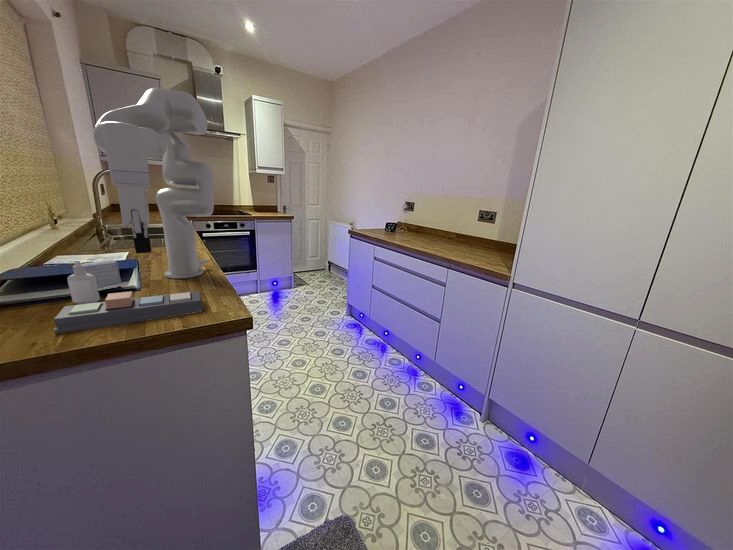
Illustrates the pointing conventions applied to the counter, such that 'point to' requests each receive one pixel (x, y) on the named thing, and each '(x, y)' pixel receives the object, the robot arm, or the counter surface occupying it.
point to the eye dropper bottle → (82, 285)
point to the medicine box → (104, 272)
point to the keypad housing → (124, 314)
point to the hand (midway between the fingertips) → (143, 252)
